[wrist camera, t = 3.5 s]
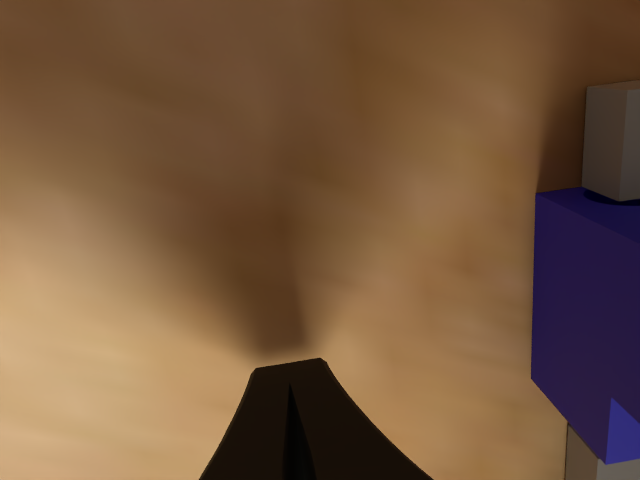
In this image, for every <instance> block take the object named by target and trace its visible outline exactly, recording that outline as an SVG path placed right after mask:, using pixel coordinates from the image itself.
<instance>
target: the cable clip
mask: <svg viewBox="0 0 640 480" xmlns="http://www.w3.org/2000/svg"><path fill="white" fill-rule="evenodd" d="M531 379H532V380H533V381H534V383H535V384H536V385H537V386H538V387H539V388H540V390H541V391H542V392H543V393H544V394H545V395H546V396H547V398H548V399H549V400H550V401H551V402H552V403H553V405H554V406H555V407H556V408H557V409H558V410H559V412H560V413H561V414H562V415H563V416H564V417H565V419H566V420H567V421H568V422H569V423H570V424H571V425H572V427H573V428H574V429H575V430H576V431H577V432H578V434H579V435H580V436H581V437H582V438H583V439H584V441H585V442H586V443H587V444H588V445H589V446H590V447H591V449H592V450H593V451H594V452H595V453H596V454H597V456H598V457H599V458H600V459H601V460H602V461H603V463H604V464H605V465H608V464H614V463H619V462H625V461H630V460H635V459H640V198H639V199H632V200H626V201H616V200H614V199H611V198H609V197H606V196H604V195H601V194H599V193H596V192H594V191H591V190H589V189H586V188H584V187H576V188H569V189H562V190H555V191H549V192H542V193H536V195H535V235H534V276H533V316H532V356H531Z"/></svg>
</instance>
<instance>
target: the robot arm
mask: <svg viewBox="0 0 640 480" xmlns="http://www.w3.org/2000/svg"><path fill="white" fill-rule="evenodd" d="M199 480H434V479H432V478H431V477H430V476H429V475H427V474H426V473H425V472H424V471H423V470H421V469H420V468H419V467H418V466H417V465H416V464H414V463H413V462H412V461H411V460H410V459H409V458H408V457H407V456H405V455H404V454H403V453H402V452H401V451H400V450H399V449H398V448H397V447H396V446H395V445H394V444H393V443H392V442H391V441H390V440H389V439H388V438H387V437H386V436H385V435H384V434H383V433H382V432H381V431H380V430H379V429H378V428H377V427H376V426H375V425H374V424H373V423H372V422H371V421H370V419H369V418H368V417H367V416H366V415H365V414H364V413H363V412H362V410H361V409H360V408H359V407H358V406H357V405H356V404H355V402H354V401H353V400H352V399H351V398H350V396H349V395H348V394H347V392H346V391H345V390H344V388H343V387H342V386H341V385H340V383H339V382H338V380H337V379H336V377H335V376H334V374H333V373H332V371H331V370H330V368H329V366H328V364H327V362H326V361H324V360H323V359H321V358H315V359H309V360H303V361H297V362H291V363H285V364H279V365H273V366H266V367H260V368H256V369H255V370H254V371H253V372H252V373H251V375H250V378H249V381H248V384H247V387H246V390H245V392H244V395H243V397H242V399H241V402H240V404H239V406H238V408H237V410H236V413H235V415H234V417H233V419H232V421H231V423H230V425H229V427H228V429H227V431H226V433H225V435H224V437H223V439H222V441H221V443H220V444H219V446H218V448H217V450H216V452H215V453H214V455H213V457H212V458H211V460H210V462H209V463H208V465H207V467H206V468H205V470H204V472H203V473H202V475H201V477H200V479H199Z"/></svg>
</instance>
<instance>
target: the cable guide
mask: <svg viewBox="0 0 640 480" xmlns="http://www.w3.org/2000/svg"><path fill="white" fill-rule="evenodd" d="M581 187H584V188H586V189H589V190H591V191H594V192H596V193H599V194H601V195H604V196H606V197H609V198H611V199H614V200H616V201H626V200H632V199H639V198H640V80H634V81H627V82H619V83H611V84H603V85H596V86H588V87H587V96H586V114H585V132H584V150H583V168H582V186H581ZM565 480H640V459H635V460H630V461H625V462H619V463H614V464H608V465H605V464H604V463H603V461H602V460H601V459H600V458H599V457H598V456H597V454H596V453H595V452H594V451H593V450H592V449H591V447H590V446H589V445H588V444H587V443H586V442H585V441H584V439H583V438H582V437H581V436H580V435H579V434H578V432H577V431H576V430H575V429H574V428H573V427H572V425H571V424H568V438H567V456H566V474H565Z"/></svg>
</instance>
